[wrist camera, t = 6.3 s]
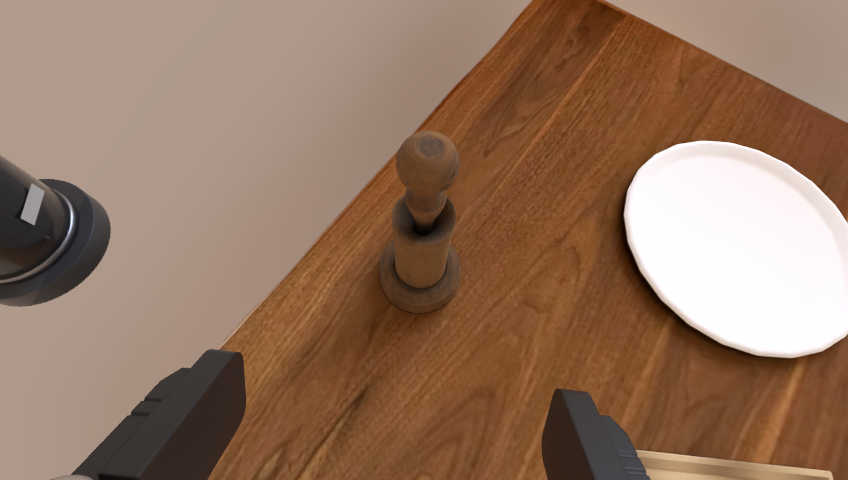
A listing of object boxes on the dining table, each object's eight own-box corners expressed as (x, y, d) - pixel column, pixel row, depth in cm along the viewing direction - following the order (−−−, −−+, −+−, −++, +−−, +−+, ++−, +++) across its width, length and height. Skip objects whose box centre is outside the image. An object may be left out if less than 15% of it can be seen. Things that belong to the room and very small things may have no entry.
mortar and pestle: (454, 239, 36) (492, 88, 20) (462, 311, 34) (514, 206, 17) (379, 243, 36) (354, 92, 19) (381, 316, 33) (354, 213, 17)
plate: (648, 117, 43) (655, 109, 41) (860, 198, 40) (873, 191, 38) (590, 290, 35) (596, 285, 34) (848, 407, 32) (865, 407, 31)
